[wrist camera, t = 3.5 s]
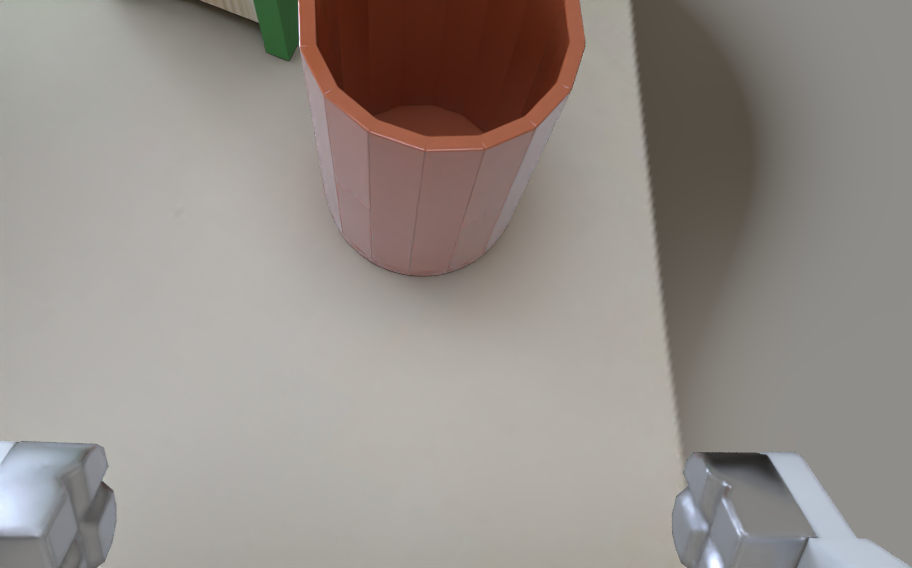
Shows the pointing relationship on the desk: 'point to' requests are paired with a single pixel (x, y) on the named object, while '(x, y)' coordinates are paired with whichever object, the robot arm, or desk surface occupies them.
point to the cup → (433, 117)
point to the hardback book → (269, 22)
